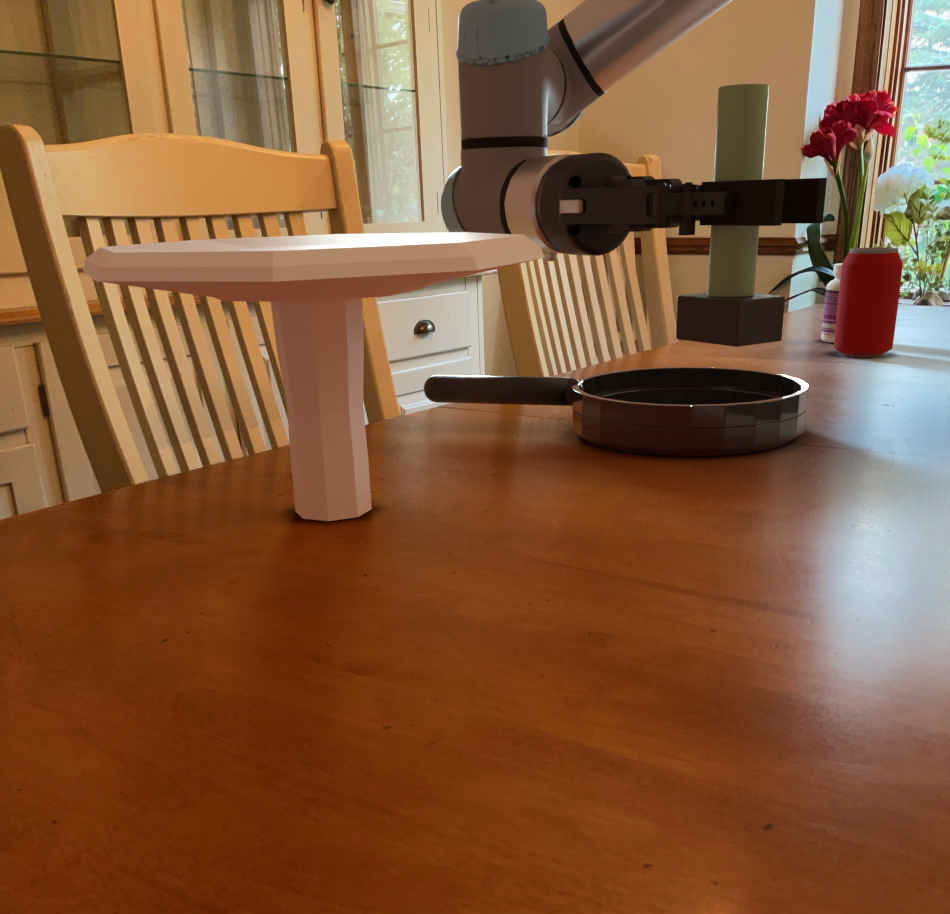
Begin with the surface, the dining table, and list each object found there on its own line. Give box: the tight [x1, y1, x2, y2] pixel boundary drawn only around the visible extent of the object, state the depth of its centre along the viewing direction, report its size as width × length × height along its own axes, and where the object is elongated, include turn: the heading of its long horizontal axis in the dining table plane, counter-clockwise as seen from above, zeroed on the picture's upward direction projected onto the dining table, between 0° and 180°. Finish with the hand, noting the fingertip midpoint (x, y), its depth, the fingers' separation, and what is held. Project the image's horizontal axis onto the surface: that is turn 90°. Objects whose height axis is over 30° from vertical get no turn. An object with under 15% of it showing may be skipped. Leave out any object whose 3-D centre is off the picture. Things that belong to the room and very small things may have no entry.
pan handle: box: [423, 374, 583, 407], centre depth 91 cm, size 14×2×2 cm, turn 73°
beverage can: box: [833, 246, 904, 358], centre depth 124 cm, size 7×7×12 cm
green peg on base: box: [675, 83, 786, 348], centre depth 71 cm, size 6×4×16 cm
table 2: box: [82, 231, 546, 522], centre depth 66 cm, size 28×28×17 cm
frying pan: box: [570, 366, 809, 457], centre depth 87 cm, size 19×19×4 cm
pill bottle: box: [820, 262, 843, 344], centre depth 135 cm, size 5×5×10 cm
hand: (799, 201), depth 66 cm, fingers closed on green peg on base, 3 cm apart
